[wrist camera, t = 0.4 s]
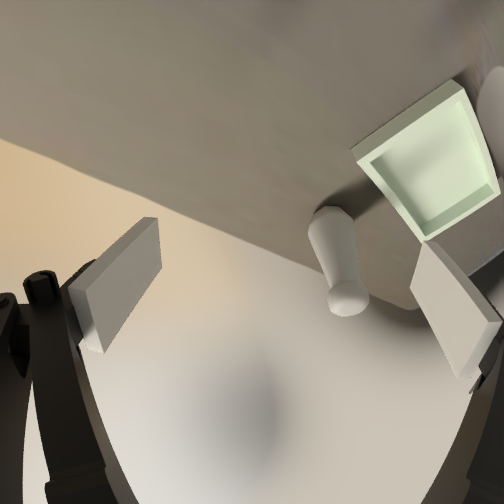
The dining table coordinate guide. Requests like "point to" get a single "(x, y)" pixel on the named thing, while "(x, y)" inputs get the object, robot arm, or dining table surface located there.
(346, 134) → the dining table surface
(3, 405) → the robot arm
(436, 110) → the tray
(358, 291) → the salt shaker
